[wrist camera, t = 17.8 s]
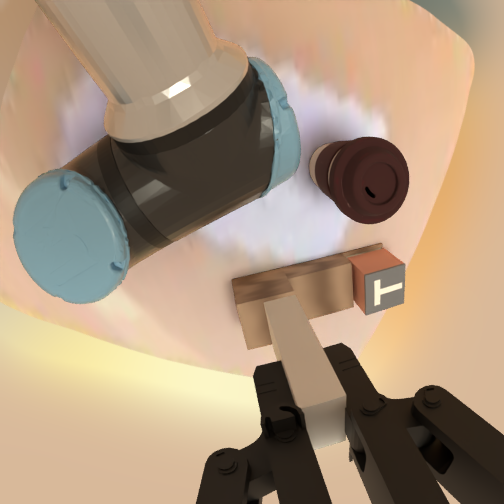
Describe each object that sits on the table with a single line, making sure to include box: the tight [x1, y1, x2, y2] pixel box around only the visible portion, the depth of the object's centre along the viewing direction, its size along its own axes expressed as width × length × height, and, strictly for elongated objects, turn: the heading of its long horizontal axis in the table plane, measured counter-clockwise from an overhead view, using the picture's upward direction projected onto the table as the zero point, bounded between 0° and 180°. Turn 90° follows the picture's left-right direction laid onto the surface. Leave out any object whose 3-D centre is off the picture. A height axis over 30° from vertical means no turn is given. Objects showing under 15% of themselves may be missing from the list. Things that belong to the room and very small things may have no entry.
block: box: [347, 248, 405, 315], centre depth 49 cm, size 7×7×7 cm
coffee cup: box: [309, 137, 409, 224], centre depth 39 cm, size 10×10×15 cm
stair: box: [232, 243, 382, 350], centre depth 48 cm, size 26×8×8 cm, turn 101°
